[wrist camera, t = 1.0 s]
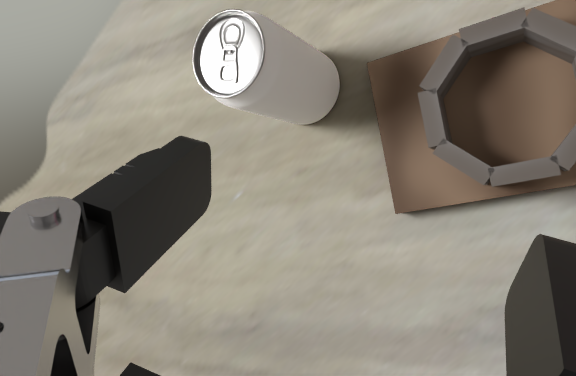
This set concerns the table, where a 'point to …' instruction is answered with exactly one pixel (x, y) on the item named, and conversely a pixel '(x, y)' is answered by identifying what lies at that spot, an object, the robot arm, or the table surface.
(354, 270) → the table surface
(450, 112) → the socket board
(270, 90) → the can
